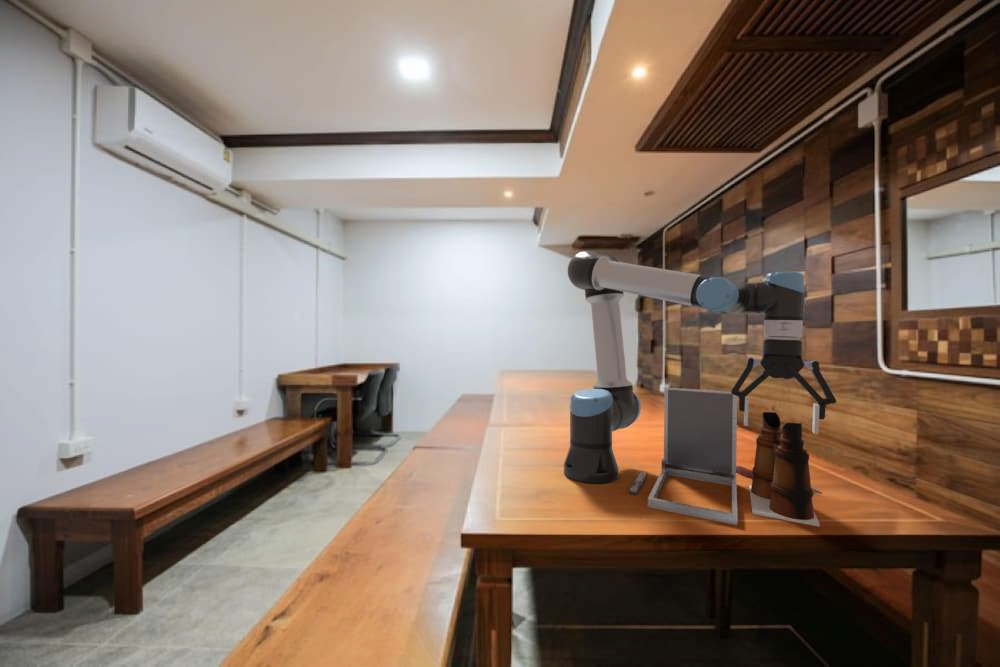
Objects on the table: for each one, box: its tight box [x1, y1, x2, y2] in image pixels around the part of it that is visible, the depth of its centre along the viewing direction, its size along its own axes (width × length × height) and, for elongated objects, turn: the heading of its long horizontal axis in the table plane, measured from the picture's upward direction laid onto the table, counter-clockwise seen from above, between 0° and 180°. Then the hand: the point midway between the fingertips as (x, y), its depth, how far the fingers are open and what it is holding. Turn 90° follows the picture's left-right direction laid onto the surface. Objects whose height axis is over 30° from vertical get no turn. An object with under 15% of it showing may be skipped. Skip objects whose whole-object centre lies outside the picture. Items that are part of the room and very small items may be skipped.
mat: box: [748, 484, 821, 527], centre depth 97 cm, size 12×18×1 cm, turn 151°
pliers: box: [736, 465, 823, 495], centre depth 112 cm, size 12×20×3 cm, turn 15°
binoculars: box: [751, 411, 815, 520], centre depth 97 cm, size 18×8×20 cm, turn 170°
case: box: [647, 387, 738, 526], centre depth 103 cm, size 18×27×24 cm
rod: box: [628, 471, 648, 496], centre depth 109 cm, size 2×14×2 cm, turn 151°
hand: (779, 428), depth 97 cm, fingers open, 13 cm apart
